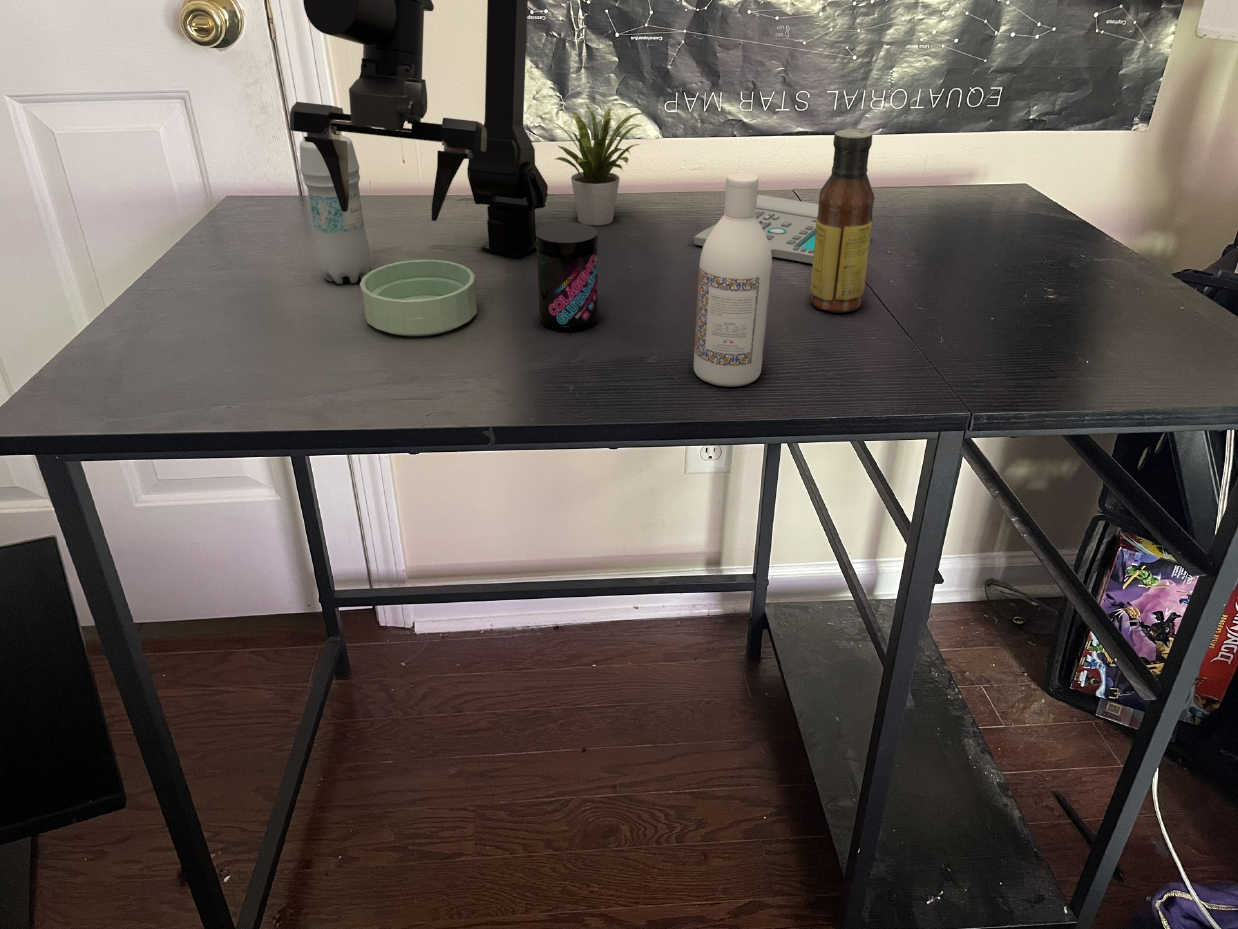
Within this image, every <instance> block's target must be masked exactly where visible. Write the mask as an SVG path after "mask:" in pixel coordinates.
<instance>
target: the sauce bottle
mask: <svg viewBox="0 0 1238 929" xmlns="http://www.w3.org/2000/svg"><path fill="white" fill-rule="evenodd" d="M833 135H834V136H833V142H832V143H833V148H834V151H833V152H834V153H833V159H832V160H833V161H832V162H833V163H832V168H831V174H830V175H829V177H828V179H827V180H826V181H825V183H824V184H823V186H822V187H821V188H820V191H819V194H818V195H819V196H818V204H819V208H818V217H817V221H816V233H815V244H814V255H813V264H812V269H811V275H810V276H811V277H810V287H809V288H810V289H809V290H810V301H811V304H812V305H813V306H814V308H816V309H817V310H821V311H825V312H829V313H834V314H841V313H842V314H843V313H844V314H845V313H850V312H853V311H854V312H855V311H856V310H858V309H859V308H860V307H861V305H862V302H863V296H864V293H865V287H866V279H867V270H868V261H869V252H870V245H871V236H872V230H873V221H874V219H873V209H874V202H875V194H874V193H875V192H874V191H873V188H872V186H871V182H870V180H869V176H868V171H869V168H868V165H869V164H868V163H869V155H870V149H871V147H872V144H873V133H872V132H871V131H869V130H864V129H858V128H845V129H839V130H836V131H835V132H834V134H833Z"/></svg>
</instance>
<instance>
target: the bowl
mask: <svg viewBox="0 0 1238 929" xmlns="http://www.w3.org/2000/svg"><path fill="white" fill-rule="evenodd" d="M360 280H361V281H360V283H359V288H360V289H359V290H360V295H361V301H362V302H361V303H362V308H363V315H364V318H365V320H366V322H367V324H369V325H370V326H371V327H373V328H374V329H376V330H379V331H383V332H385V333H388V334H392V335H396V336H404V337H426V336H434V335H440V334H443V333H446V332H447V333H448V332H450V331H453V330H455V329H457V328H459V327H460V326H462V325H465V324H466V323H468V322H470V321H471V320H472V319H473V318H474V317H475V316H476V314H477V311H478V300H477V288H476V276H475V274H474V272H473V271H472V270H471V268H468V267H467V266H465V265H463V264H461V263H456V262H453V261H450V260H439V259H412V260H404V261H397V262H393V263H390V264H386V265H382V266H380V267H377V268H375V269H372V270H370V272H369V273H368V274H367V275H365V276H364V277H363V278H362V279H360Z"/></svg>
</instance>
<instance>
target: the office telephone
mask: <svg viewBox="0 0 1238 929" xmlns="http://www.w3.org/2000/svg"><path fill="white" fill-rule="evenodd" d="M818 208H819V203H815V202H814V203H813V202H807V201H802V200H795V199H789V198H783V197H777V196H770V195H764V194H757V204H756V213H755V217H756V218H757V220H758V222H759V224H760V226H761V227H762V229H763V231H764V233H765V235H766V237H767V240H768V242H769V245H770V249H771V255H772V258H778V259H784V260H790V261H797V262H800V263H801V262H802V263H807V264H811V265H813V255H814V244H815V233H816V221H817V217H818ZM717 223H718V222H716V223H714V224H713V225H712V226H710V227H708V228H706V229H704V230H702V231H700V232H699V233H697V234H696V235H694V236H693V245H695V246H701V247H703V246H704V244H705V241H706V240H707V238H708V236H709V234H710V233H711V231H712V230H713V229H714V227H715V226H716V225H717Z"/></svg>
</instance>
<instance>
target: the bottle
mask: <svg viewBox="0 0 1238 929" xmlns="http://www.w3.org/2000/svg"><path fill="white" fill-rule="evenodd" d="M340 140H342V141H347V149H348V176H349V205H348V211H347V212H343V211H342V210H341V207H340V204H339V201H338V198H337V195H336V192H335V189H334V186H333V182H332V179H331V176H330V173H329V171H328V168H327V166H326V164H325V162H324V159H323V157H322V155H321V154H320V152H319V151H318V149H317V148H316V146H315V145H314V144H313V143H311V142H305V140H304V138H303V139H301V141H299V157H300V158H299V162H300V165H299V166H300V167H299V168H300V170H299V171H300V173H301V175H302V182H303V183H304V184H303V185H305V187H306V189H307V194H308V199H309V205H310V212H311V216H312V217H311V218H312V222H313V228H314V233H315V241H316V242H315V243H316V253H317V259H318V265H319V268H320V271H321V273H322V275H323V277H324V279H326V280H327V281H328V282H335V283H336V284H337V285H343V283H344V277H348V278H349V282H350V283H351V284H356V283H357V282H358V280H359V278H360V280H362V278H363V277H364V276H365V275H367V274H368V273H369V272H370V271H371V264H372V256H371V251H370V245H369V242H368V236H367V232H366V228H365V222H364V221H365V220H364V212H363V207H362V206H363V205H362V199H361V192H360V187H359V182H360V180H361V175H360V164H359V161H358V157H357V155H356V151H355V147H354V144H353V140H352V139H351V138H350V137H348V136H346V135H344V134H342V133H341V135H340Z"/></svg>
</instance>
